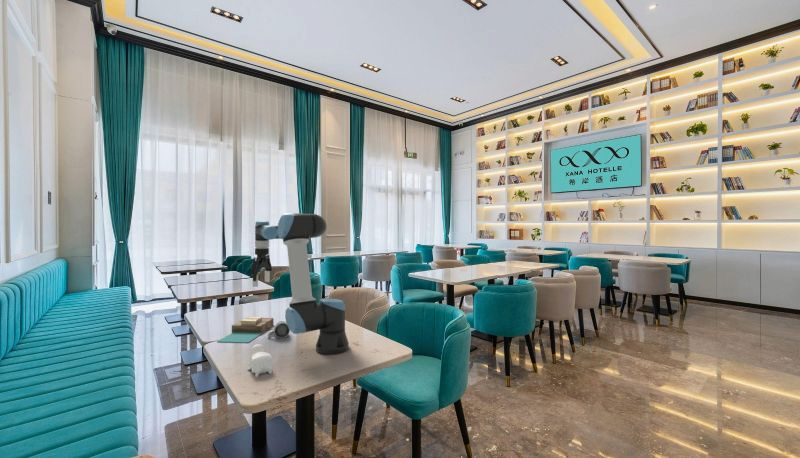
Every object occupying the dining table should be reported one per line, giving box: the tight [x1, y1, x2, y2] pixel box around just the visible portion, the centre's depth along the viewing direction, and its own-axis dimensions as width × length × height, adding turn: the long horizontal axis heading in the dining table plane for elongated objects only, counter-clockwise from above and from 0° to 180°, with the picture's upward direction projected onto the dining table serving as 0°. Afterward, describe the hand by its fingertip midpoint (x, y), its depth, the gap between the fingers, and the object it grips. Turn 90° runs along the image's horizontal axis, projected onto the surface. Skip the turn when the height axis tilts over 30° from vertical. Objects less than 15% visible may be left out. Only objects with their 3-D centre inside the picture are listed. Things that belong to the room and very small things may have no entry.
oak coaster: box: [240, 316, 263, 325], centre depth 192 cm, size 8×8×2 cm
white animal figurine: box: [247, 343, 274, 378], centre depth 140 cm, size 8×8×15 cm
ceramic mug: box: [267, 320, 291, 339], centre depth 181 cm, size 11×8×8 cm
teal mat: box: [216, 332, 263, 344], centre depth 179 cm, size 15×16×1 cm
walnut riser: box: [231, 317, 275, 334], centre depth 194 cm, size 16×16×4 cm
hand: (261, 284), depth 202 cm, fingers open, 13 cm apart
